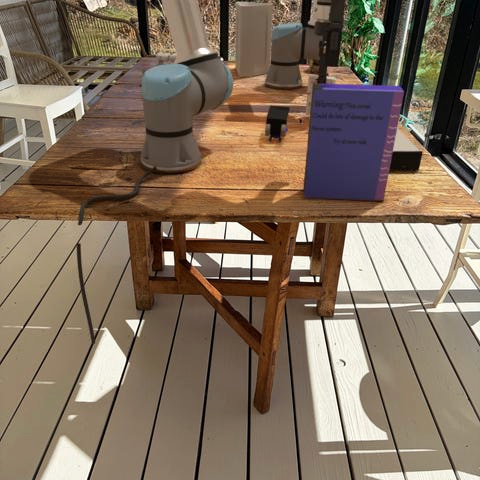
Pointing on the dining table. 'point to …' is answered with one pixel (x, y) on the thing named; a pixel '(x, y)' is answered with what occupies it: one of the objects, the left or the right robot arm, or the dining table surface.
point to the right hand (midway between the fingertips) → (320, 99)
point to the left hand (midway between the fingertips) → (331, 60)
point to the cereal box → (351, 141)
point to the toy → (165, 58)
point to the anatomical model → (313, 65)
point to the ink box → (309, 92)
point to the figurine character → (276, 122)
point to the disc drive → (405, 154)
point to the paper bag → (253, 38)
